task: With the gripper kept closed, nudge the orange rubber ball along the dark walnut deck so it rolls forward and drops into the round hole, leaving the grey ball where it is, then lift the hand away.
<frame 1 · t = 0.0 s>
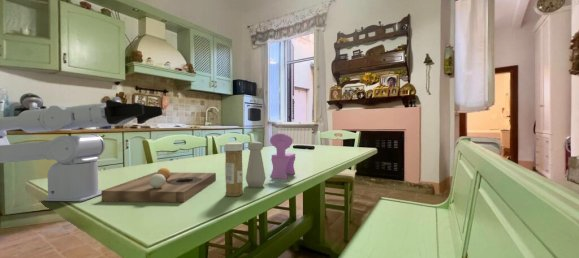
hand: (152, 110, 62), 22 cm above the table, tool horizontal, fingers open, 7 cm apart
salt shaker: (255, 186, 75), on the table
spice jar: (234, 195, 66), on the table
orange ball: (163, 174, 71), point 4 cm above the table, touching deck
toy chair: (283, 176, 89), on the table
deck: (167, 189, 71), on the table
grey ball: (157, 181, 63), point 4 cm above the table, touching deck
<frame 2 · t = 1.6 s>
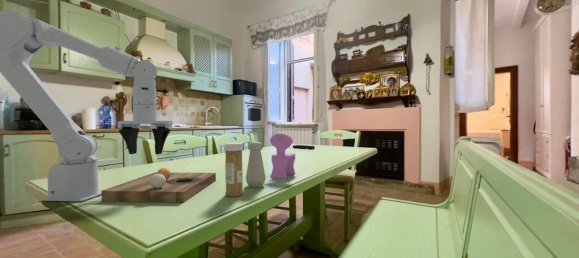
hand: (145, 153, 71), 10 cm above the table, tool pointing down, fingers open, 7 cm apart
nothing on the table moved.
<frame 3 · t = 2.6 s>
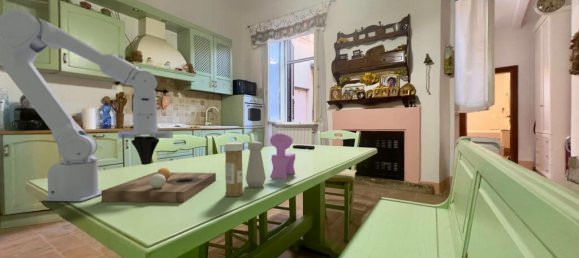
hand: (146, 164, 71), 7 cm above the table, tool pointing down, fingers closed
nothing on the table moved.
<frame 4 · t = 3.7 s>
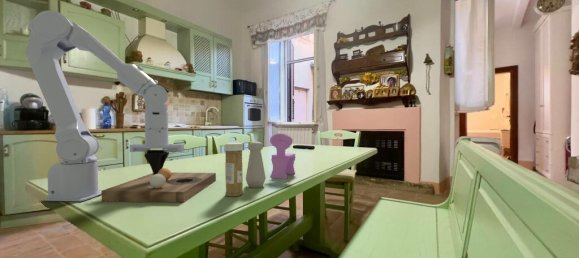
hand: (157, 177, 71), 3 cm above the table, tool pointing down, fingers closed, pressing on orange ball
orange ball: (164, 174, 71), point 4 cm above the table, tilted 7°, touching deck, gripper
everything else where it was.
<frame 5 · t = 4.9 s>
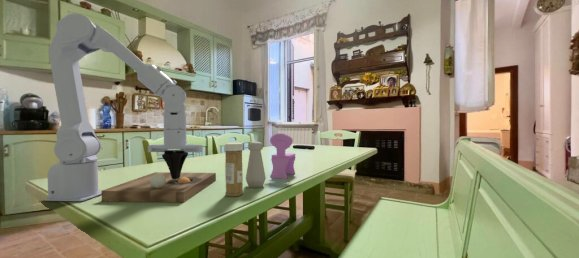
hand: (175, 178, 70), 3 cm above the table, tool pointing down, fingers closed
orange ball: (184, 183, 70), point 2 cm above the table, tilted 110°
everything else where it was.
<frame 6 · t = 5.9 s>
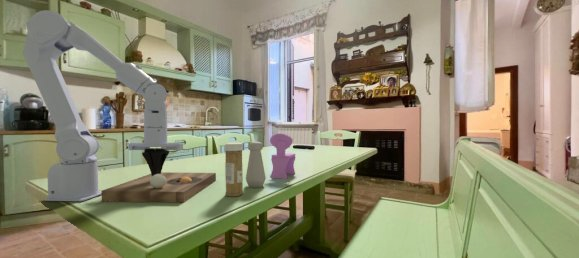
hand: (156, 176, 71), 4 cm above the table, tool pointing down, fingers closed
orange ball: (185, 183, 71), point 2 cm above the table, tilted 99°
everything else where it was.
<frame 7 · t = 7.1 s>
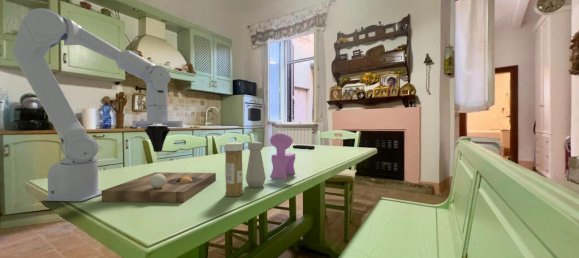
hand: (158, 151, 77), 10 cm above the table, tool pointing down, fingers closed
nothing on the table moved.
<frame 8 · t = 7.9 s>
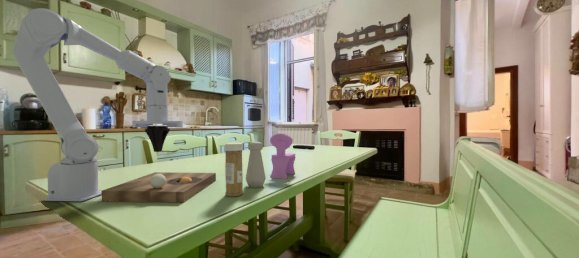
hand: (158, 151, 77), 10 cm above the table, tool pointing down, fingers closed
nothing on the table moved.
at the end: orange ball 0.4 cm from the target spot on the deck, point 1.7 cm above the deck's base; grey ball moved 0.1 cm from its start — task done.
